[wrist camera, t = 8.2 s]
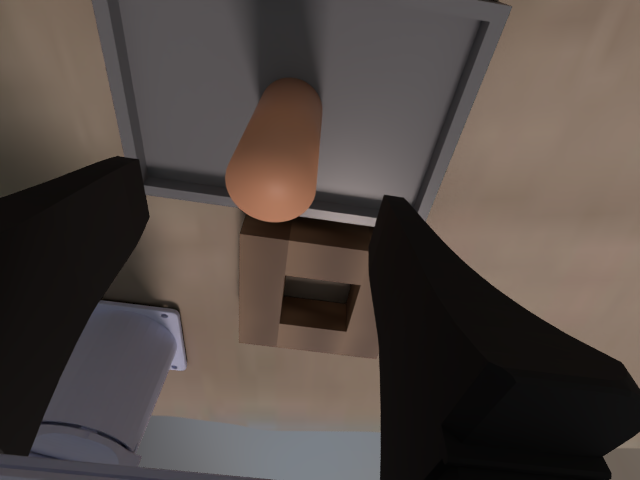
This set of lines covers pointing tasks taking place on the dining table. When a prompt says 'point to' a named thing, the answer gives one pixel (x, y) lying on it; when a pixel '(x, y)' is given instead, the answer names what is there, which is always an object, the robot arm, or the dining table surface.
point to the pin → (278, 153)
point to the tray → (310, 66)
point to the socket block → (314, 263)
